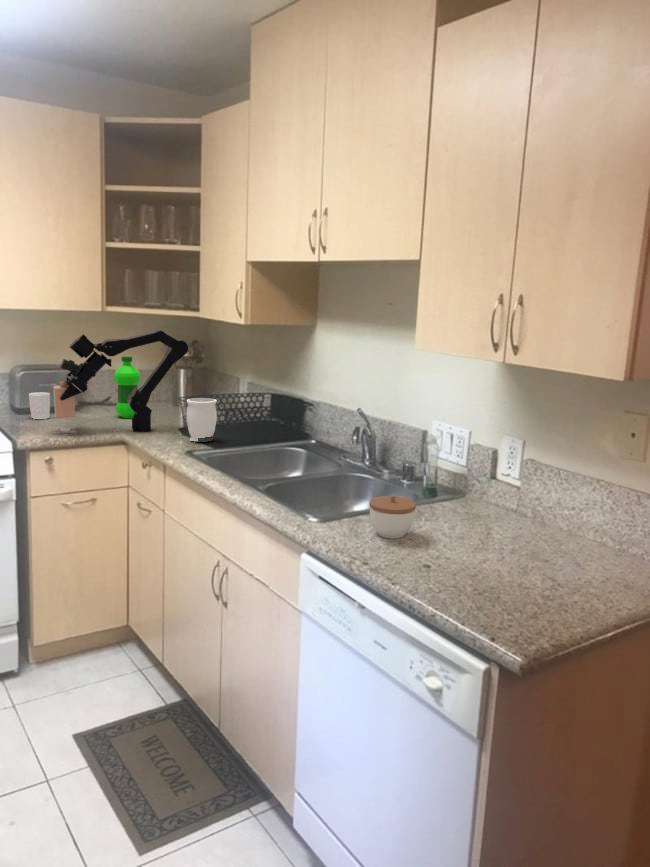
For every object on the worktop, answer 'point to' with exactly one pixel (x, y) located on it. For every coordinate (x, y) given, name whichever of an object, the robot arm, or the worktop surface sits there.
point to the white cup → (39, 405)
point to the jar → (201, 417)
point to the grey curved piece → (65, 433)
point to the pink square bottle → (63, 402)
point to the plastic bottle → (126, 386)
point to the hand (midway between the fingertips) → (60, 398)
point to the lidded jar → (392, 515)
